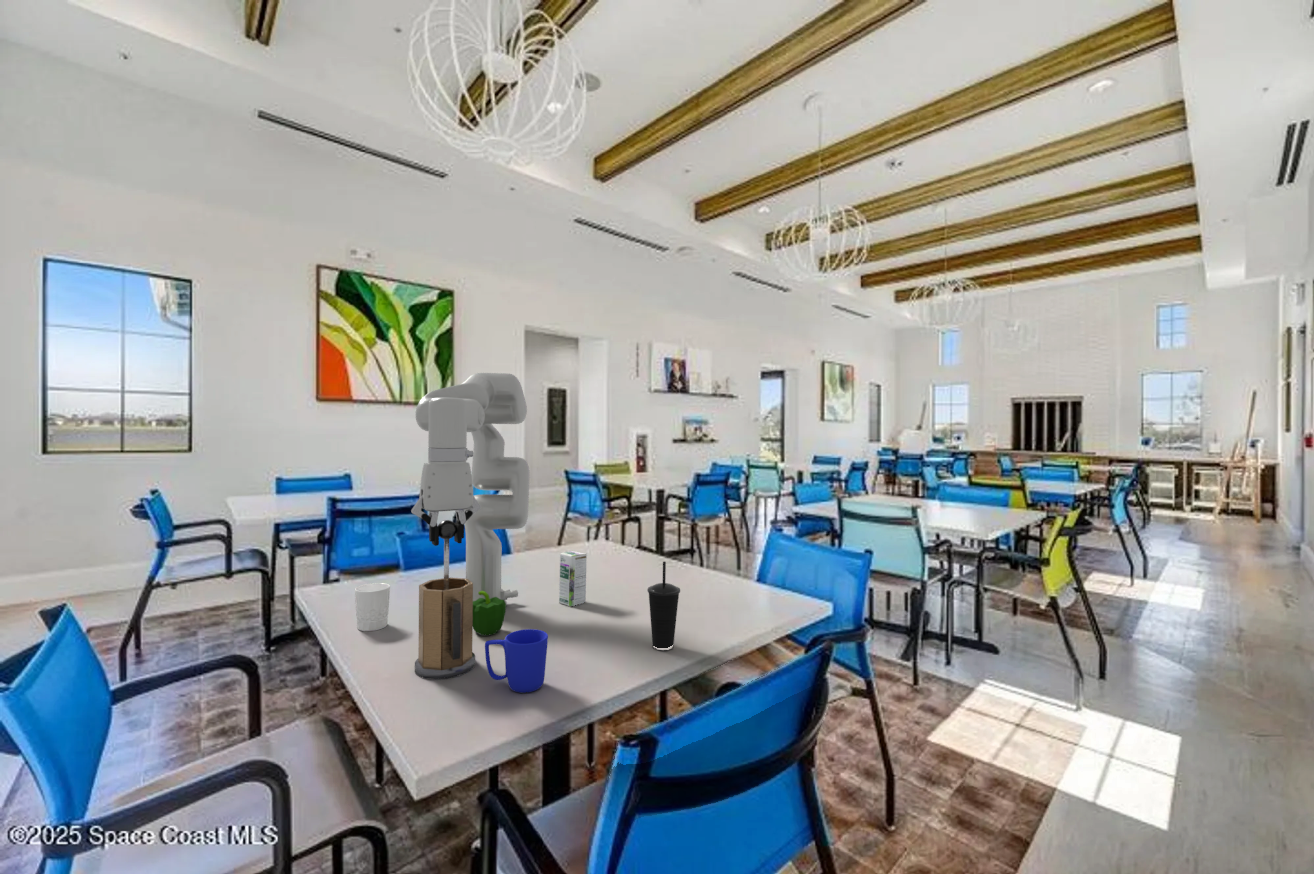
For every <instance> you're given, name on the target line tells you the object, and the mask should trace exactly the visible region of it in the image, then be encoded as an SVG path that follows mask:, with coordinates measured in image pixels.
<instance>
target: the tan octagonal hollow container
mask: <svg viewBox="0 0 1314 874" xmlns="http://www.w3.org/2000/svg"><path fill="white" fill-rule="evenodd" d="M473 630H474V629H473V583H472V582H471V581H470V580H468V579H466V577H464V578H461V577H452V576H451V577H450V576H449V590H444V577H442V578H436V579H430V580H427V581H425V582H422V583H420V584H419V585H418V655H417V656H418V658H417V659H416V660H415V661H414V673H415V675H417V676H418V677H419V678H422V677H423V678H422V679H426V680H427V679H428V680H445V679H446V680H447V679H451V677H452V678H456V677H459V676H462V675H465V674H467V673H469V672H470V671H471V670H472V669H474V668H475V666H476V655H475V653H474V652H473ZM464 673H465V674H464Z"/></svg>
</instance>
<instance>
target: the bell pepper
mask: <svg viewBox="0 0 1314 874" xmlns="http://www.w3.org/2000/svg"><path fill="white" fill-rule="evenodd" d="M478 593H479V595H484V596H485V599H484V598H479V599H477V600H476V601H473V630H474V632H475V633H477V634H478V635H480V636H492V635H493V636H494V635H495V634H496V633H497V632H499V631H500V630H501V629H502V627H503V624H504V621H505V616H506V612H507V611H506V609H507V606H506V603H505V601H506V600H505V601H504V600H501V599H499V598H497V597H493V598H490V599H489V595H488V594H487V593H486V592H485V591H480V592H478Z"/></svg>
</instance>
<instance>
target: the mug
mask: <svg viewBox="0 0 1314 874" xmlns="http://www.w3.org/2000/svg"><path fill="white" fill-rule="evenodd" d="M548 642H549V635H548V633H547V632H546V631H544V630H540V629H534V628H527V629H526V628H525V629H519V630H514V631H512V632H510V633H508V634H507V635H506V636H505V637H504V639H491V640H486V641H485V642H484V653H485V654H484V655H485V662H486V663H485V664H486V669H487V672H488V674H489V676H490V677H491V678H492V679H493V680H495V681H502V680H504V679H506V680H507V685H508V687H509V689H511V690H512V691H513V692H516V693H519V694H520V693H521V694H522V693H523V694H525V693H526V692H527V693H532V692H535V691H537V690H539V689H540V688H541V687H542V686H543V685H544V681H545V678H546V677H545V675H546V674H545V673H546V664H547V652H548ZM490 645H499V646H502V649H503V650H504V662H505V664H504V665H505V674H504V675H499V674H496V673H495V672H494V670H493V667H492V664H491V658H490V656H491V655H490ZM527 693H526V694H527Z"/></svg>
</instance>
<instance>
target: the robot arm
mask: <svg viewBox="0 0 1314 874" xmlns="http://www.w3.org/2000/svg"><path fill="white" fill-rule="evenodd" d="M415 409H416V410H415V420H416V424H417V426H418V427H419V428H420V429H421V430H423V431H425V432H428V437H427V438H428V442H427V443H428V445H427V446H428V449H427V450H428V451H427V452H428V453H427V455H428V457H427V460H428V461H427V462H424V463H423V467H422V470H421V478H420V484H419V485H420V487H419V498H418V499H417V501H416V503H415V504H414V506H413V507H412V508H411V510H410V511H411V513H412V514H413V515H415V516H416V517H418V518H420V519H421V520H423V521H424V522H425V523H426V524H427V525H428V540H429V541H428V542H431V544H432V545H433V546H434V547H437V546H440V537H439V527H438V517H439V513H440V512H452V511H455V517H456V518H455V519H456V521H455V522H454V523H455V524H456V527H457V532H456V534H455V536H454V537H453V539H454V542H455V543H457V544H462V542H463V541H462V539H464V538H465V579H468V580H470V581H471V582H472V583H473V601H476V600H477V599H479V598H484V599H485V596H484V595H479V593H478V592H480V591H485V592H486V593H487V594H488V595H489V599H490V598H493V597H497V598H499V599H501V600H504V601H505V603H506V607H507V605H508V604H507V603H508V602H507V600H508V599H511V598H512V599H513V598H518V596H519V592H518V590H517V589H516V590H511V589H505V590H504V589H503V588H502V553H503V552H502V551H503V550H502V547H503V546H502V542H501V540H500V538H499V536H498V535H497V533H495V531H494V530H498V529H499V530H519V529H522V528H524V527H525V526H526V524H527V522H528V517H529V500H530V497H529V495H530V478H531V477H530V467H529V464H528V461H527V460H526V459H524V458H523V457H518V456H505V445H506V444H505V439H504V438H503V436H502V434H501V433H500V432H499V430H497V428H495V426H494V425H519V424H521V423H523V422H524V421H525V420H526V418H527V415H528V414H527V413H528V409H527V401H526V397H525V393H524V390H523V387H522V384H521V382H520V380H519V379H518V377H516V375H514V374H512V373H501V372H500V373H498V372H479V373H478V372H477V373H474V374H471V375H469V376H468V378H467V379H466V380H464V381H463V382H462V383H461V384H455V385H452V386H447V387H442V388H438V389H435V390H431V391H429V392H428V393H426V394H425V395H423V397H422V398H420V400H419V402H418V403H417V406H416V408H415ZM467 433H471V436H472V440H473V450H470V449H468V447H467V443H468V442H467V440H468V439H467V438H468V437H467V436H468V435H467ZM468 458H472V463H471V464H470V462H468ZM474 488H475V489H477V490H480V491H481V490H482V491H509V492H511V493H512V494H490V493H489V494H485V493H484V494H475V495H474ZM422 509H423V510H425V511H427V512H428V514H427V513H426V512H424V511H422Z"/></svg>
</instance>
